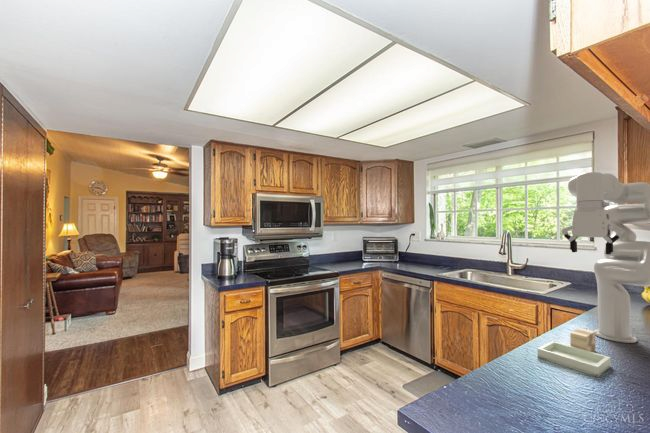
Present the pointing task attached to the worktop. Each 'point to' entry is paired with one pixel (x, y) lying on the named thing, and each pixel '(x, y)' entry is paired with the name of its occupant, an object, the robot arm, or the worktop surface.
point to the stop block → (583, 339)
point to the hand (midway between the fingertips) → (590, 253)
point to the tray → (575, 358)
